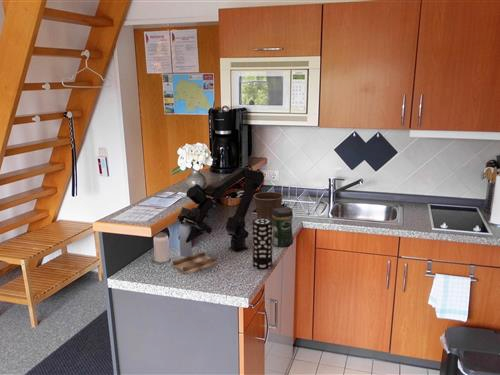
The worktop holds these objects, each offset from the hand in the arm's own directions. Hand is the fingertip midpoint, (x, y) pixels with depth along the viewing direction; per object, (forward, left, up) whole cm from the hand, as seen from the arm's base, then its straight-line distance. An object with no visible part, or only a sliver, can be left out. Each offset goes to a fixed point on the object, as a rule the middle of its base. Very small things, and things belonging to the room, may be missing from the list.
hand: (182, 240), depth 177 cm
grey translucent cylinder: (-1, 0, -7) cm, 7 cm away
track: (-5, 0, -12) cm, 14 cm away
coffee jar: (-51, +8, -13) cm, 53 cm away
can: (+3, -14, -13) cm, 19 cm away
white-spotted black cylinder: (-27, +20, -13) cm, 36 cm away
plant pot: (-67, -20, -13) cm, 71 cm away
